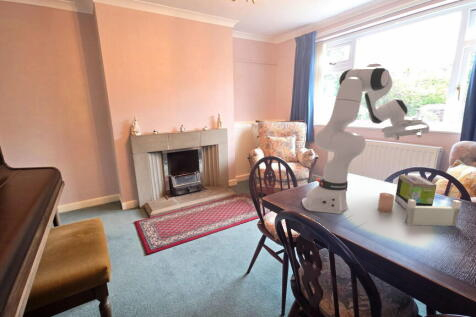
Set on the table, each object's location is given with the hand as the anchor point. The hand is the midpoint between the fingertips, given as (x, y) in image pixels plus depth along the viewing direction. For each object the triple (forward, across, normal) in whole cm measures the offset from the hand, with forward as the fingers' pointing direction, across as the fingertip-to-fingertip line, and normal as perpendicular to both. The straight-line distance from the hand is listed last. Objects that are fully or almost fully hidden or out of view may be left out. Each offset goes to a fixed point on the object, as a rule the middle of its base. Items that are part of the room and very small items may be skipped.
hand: (408, 137), depth 120 cm
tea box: (+22, -3, +28) cm, 36 cm away
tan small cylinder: (+31, -16, +22) cm, 41 cm away
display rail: (+40, 0, +21) cm, 45 cm away
